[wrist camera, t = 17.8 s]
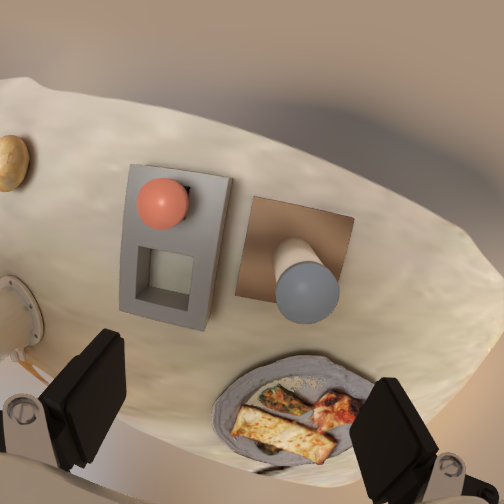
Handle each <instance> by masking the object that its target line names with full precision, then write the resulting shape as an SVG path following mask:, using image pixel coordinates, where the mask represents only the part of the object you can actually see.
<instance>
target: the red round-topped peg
mask: <svg viewBox="0 0 504 504" xmlns="http://www.w3.org/2000/svg"><path fill="white" fill-rule="evenodd" d="M189 192H190V189H185V188H184V187H183V186H182V185H181V184H180V183H179V182H178V181H176V180H173V179H170V178H157V179H153V180H151V181H149V182H147V183H146V184H145V185H144V186H143V187H142V188H141V190H140V192H139V194H138V197H137V211H138V214H139V216H140V218H141V220H142V221H143V222H144V223H145V224H146V225H147V226H149V227H150V228H153V229H156V230H166V229H169V228H171V227H173V226H175V225H177V224H178V223H180V222H181V221H182V220H183V219H184V217H185V216H186V214H187V211H188V207H189Z"/></svg>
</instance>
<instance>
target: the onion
mask: <svg viewBox="0 0 504 504" xmlns="http://www.w3.org/2000/svg"><path fill="white" fill-rule="evenodd" d="M29 160H30V155H29V153H28V150H27V147H26V145H25V143H24V142H23V141H22V140H21V139H20V138H19V137H17V136H15V135H7V136H4V137H2V138H0V191H1V192H9V191H12V190H14V189H15V188H16V187H18V186H19V185H20V184H21V182H22V181H23V179H24V177H25V175H26V171H27V170H28V166H29V164H28V162H29Z"/></svg>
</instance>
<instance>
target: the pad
mask: <svg viewBox="0 0 504 504" xmlns="http://www.w3.org/2000/svg"><path fill="white" fill-rule="evenodd" d="M353 223H354V218H351V217H347V216H343V215H339V214H335V213H330V212H326V211H322V210H317V209H313V208H308V207H304V206H299V205H294V204H290V203H285V202H280V201H275V200H270V199H265V198H260V197H255V196H254V197H253V202H252V207H251V213H250V218H249V223H248V228H247V234H246V239H245V244H244V249H243V255H242V260H241V265H240V271H239V276H238V282H237V287H236V292H235V296H241V297H246V298H251V299H257V300H262V301H268V302H273V303H277V302H276V294H275V290H276V277H275V270H274V264H273V253H274V251H275V249H276V247H277V246H278V244H280V243H281V242H282V241H284V240H286V239H289V238H299V239H302V240H304V241H306V242H307V243H308V244H309V245H310V247H311V248H312V249H313V251H314V252H315V254H316V255H317V257H318V258H319V260H320V261H321V262H322V264H323V265H324V266H325V267H327V268H328V269H329V270H330V271H331V273H332V274H333V276H334V277H335V278H336V280H337V282H338V280H339V277H340V273H341V270H342V266H343V263H344V259H345V255H346V251H347V248H348V244H349V240H350V236H351V232H352V228H353Z"/></svg>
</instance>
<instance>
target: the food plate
mask: <svg viewBox="0 0 504 504" xmlns="http://www.w3.org/2000/svg"><path fill="white" fill-rule="evenodd" d="M327 359H328V358H327V357H325V356H317V355H315V356H313V355H312V356H311V355H300V356H299V355H298V356H292V357H287V358H285V359H281V360H279V361H276V362H274V363H273V364H269V365H265V366H263V367H258V368H257V369H254V370H252V371H250V372H249V373H247V374H245V375H244V376H242V377H241V378H238V379H237V380H236V381H235V382H233V383H232V385H230V386H229V387H228V388H227V390H226V391H224V393H223V394H222V395H221V396H220V397H219V398H218V400H217V401H216V402H215V403H214V404H213V406H212V416H211V418H212V419H211V421H212V426H213V430H214V432H215V434H216V435H217V437H218V438H219V440H221V441H222V442H223V443H224V444H226V445H227V447H229V448H230V449H232V450H235V451H236V452H235V451H233V452H235V453H237V452H238V453H237V454H239V453H240V454H239V455H242V454H243V455H242V456H244V455H245V457H247V458H250V459H253V460H256V461H260V462H263V461H264V463H268V464H274V465H279V466H294V465H295V466H297V465H303V464H311V463H313V464H314V463H316V464H317V465H322V464H323V463H324V461H325V460H326V459H328V458H330V457H334V456H337V455H339V454H341V453H342V452H344V451H346V450H348V449H349V448H351V447H352V446H353V445H352V442H351V439H350V435H349V429H350V427H351V425H352V423H353V422H354V420H355V418H356V417H357V415H358V413H359V412H360V410H361V408H362V406H363V405H364V403H365V401H366V399H367V398H368V396H369V394H370V392H371V390H372V388H373V387H374V385H375V384H374V383H371V382H370V381H368V380H366V379H364V378H362V377H361V376H359V375H357V374H356V373H354V372H352V371H349V370H347V369H346V368H344V367H343V366H340V365H338V364H334V363H333V362H330V361H331V360H330V361H329V359H328V360H327ZM294 376H299V378H300V379H302V378H303V385H301V383H299V385H300V386H303V387H305V388H303V389H301V388H299V390H298V389H296V390H294V388H296V387H294V388H291V389H293V390H294V393H293V392H292V391H288V390H287V389H285V388H284V387H282V386H280V384H279V383H278V384H277V386H274V387H273V388H267V389H265V390H264V391H262V393H261V394H260V397H259V398H258V400H259V401H261V403H262V404H263V405H264V406H266V407H267V408H268V409H269V408H270V409H274V410H275V411H271V410H268V409H265V408H263V407H262V408H261V407H257V406H253V405H251V406H249V405H247V404H245V403H246V402H247V401H248V400H249V399H250V398H251V397H252V396H253V395H254V394H255V393H256V392H257V391H258V390H259V389H260V388H261V387H262V386H265V385H266V384H268V383H272V382H273V381H275V380H278V381H279V380H281V379H282V378H285V377H289V378H290V377H291V379H293V378H294ZM309 376H311V379H310V377H309ZM321 377H323V378H325V379H326V380H324V379H322V378H321ZM312 378H318V379H312ZM304 379H310V380H315V382H316V385H317V386H316V387H315V389H314V388H312V387H311V386H309V384H308V383H306V382H305V380H304ZM329 379H330V380H329ZM321 380H322V381H321ZM284 381H285V380H284ZM293 381H294V380H293ZM291 382H292V381H291ZM298 382H300V381H298ZM318 382H319V383H318ZM322 382H323V383H322ZM310 383H311V382H310ZM311 385H312V384H311ZM322 385H323V387H322V388H321V387H320V386H322ZM338 385H339V386H338ZM295 386H297V384H296V385H295ZM297 388H298V387H297ZM301 398H302V399H301Z"/></svg>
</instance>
